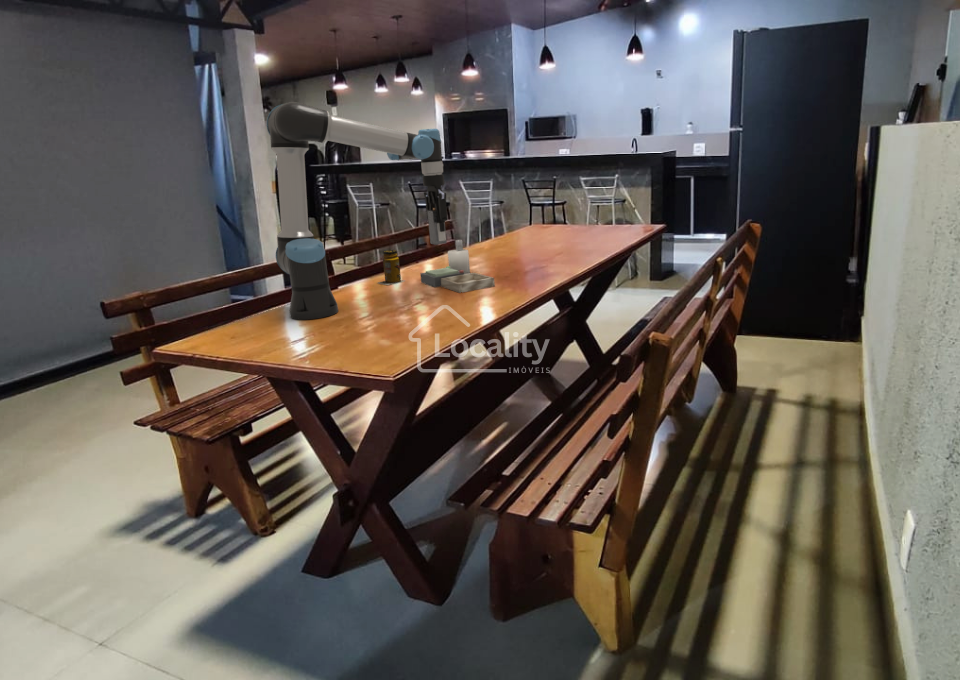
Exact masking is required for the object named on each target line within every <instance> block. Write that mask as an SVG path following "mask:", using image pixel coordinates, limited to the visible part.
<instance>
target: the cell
mask: <svg viewBox="0 0 960 680" xmlns="http://www.w3.org/2000/svg"><path fill="white" fill-rule="evenodd" d="M427 212H428V219H427V220H428V231H429V240H430V241H429V242H430V244H431V245H435V246H437V245H442V244H447V243H448V242H447V239H446V240H445V241H438V231H437V223H436V222H437V221H438V220H437V214H436V209H435V208H433V210H427ZM427 212H426V213H427ZM444 223H445V224H446V221H445V222H444ZM445 235H446V236H447V233H446V229H445Z"/></svg>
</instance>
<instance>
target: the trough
mask: <svg viewBox="0 0 960 680" xmlns="http://www.w3.org/2000/svg"><path fill="white" fill-rule="evenodd" d="M495 285H496V284H495V277H493V276H489V275H485V274H481V273H477V272H470V273H469V274H464V275H458V276H453V277H447V278H441V286H440V287H441V288H443V287H444V288H445V289H447V290H450V291H451V292H452V291H453V292H456V293H459V294H460V293H461V292H462V293H466V292H472V291H476V290H481V289H482V290H483V289H487V288H492V287H495Z"/></svg>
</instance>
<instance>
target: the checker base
mask: <svg viewBox="0 0 960 680" xmlns="http://www.w3.org/2000/svg"><path fill="white" fill-rule="evenodd" d="M445 268H450V266H449V265H447V266H445ZM458 275H464V270H459V271H458V273H454V274H449V275H443V276H438V277H435V276H432V275H429V274H426V271H425V272H420V282H421V284H423V285H424V284H425V285H428V286H430V287H433V288H439V287H441V278H447V277H453V276H458Z"/></svg>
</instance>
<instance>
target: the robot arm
mask: <svg viewBox="0 0 960 680" xmlns="http://www.w3.org/2000/svg"><path fill="white" fill-rule="evenodd" d="M266 129H267V133H268V134H269V137H270V149H271V150H272V151H273V152H274V153H275V155H276V166H277V167H276V168H277V182H278V184H277V185H278V198H279V211H280V213H279V214H280V215H279V216H280V227H281V228H280V229H281V230H280V232H278V233H277V235H276V239H277V247H276V250H275V260H276V263H277V265H278V267H279V268H280V269H281V270H282V271H283V272H284V273H285V274H287V275H289V278H290V286H291V293H292V294H291V297H290V298H291V299H290V304H289V317H290V319H294V320H303V321H304V320H305V321H307V320H316V319H321V318H323V319H324V318H326V317H330V316H333V315H335V314H337V313H338V312H339V306H338V303H337V301H336V298H335V296H334V295H333V292H332V290H331V287H330V281H329V273H328V267H327V265H328V264H327V258H326V249H325V246H324V243H323V242H322V241H321V240H319V239H317V238H316V239H315V238H314V234H313V233H312V231H310V229H309V217H308V216H309V215H308V199H307V198H308V197H307V195H308V194H307V181H306V178H307V177H306V161H305V154H306V153H307V151H309V150H310V146H309V142H315V143H316V142H318V143H322V144H324V143H325V142H326V141H327V142H328V141H329V142H333V143H337V144H338V143H339V144H343V145H346V146H353V147H358V148H362V149H368V150H372V151H378V152H382V153H386V155H387V157H388V159H389V160H390V161H402V160H403V161H405V160H420V162H421V163H420V164H421V173H422V175H423V176H422V182H423V186H424V187H425V188H426V187H427V188H426V189H427V190H426V191H424V192H423V196H424V201H425V210H426V211H425V212H426V220H428V212H427V210H433V208H435V209H436V214H437V220H438V221H437V222H436V223H437V231H438V241H445V240H446V241H447V234H446V235H445V230H446V222H447V221H448V211H447V209H448V208H447V193H446V192H443V189H442V186H444V185H445V177H444V176H445V175H444V174H443V173H444V163H443V154H442V140H441V133H440V132H441V131H440V130H439V129H438V128H424V129H422V128H421V129H419V130H418V132H417V133H418V134H415V133H410V132H406V131H402V130H398V129H392V128H388V127H385V126H382V125H381V126H380V125H375V124H372V123H367V122H363V121H358V120H354V119H349V118H344V117H342V116H338V115H333V114H330V112H329V111H328V110H327V109H325V110H324V109H322V108H317V107H316V106H315V107H314V106H311V105H307V104H304V103H302V102H298V101H297V102H296V101H289V102H286V103H282V104H278V105H277V106H275V107H274V108H272V109H271V111H270V112H269V114H268V115H267V119H266ZM444 222H445V223H444Z"/></svg>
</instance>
